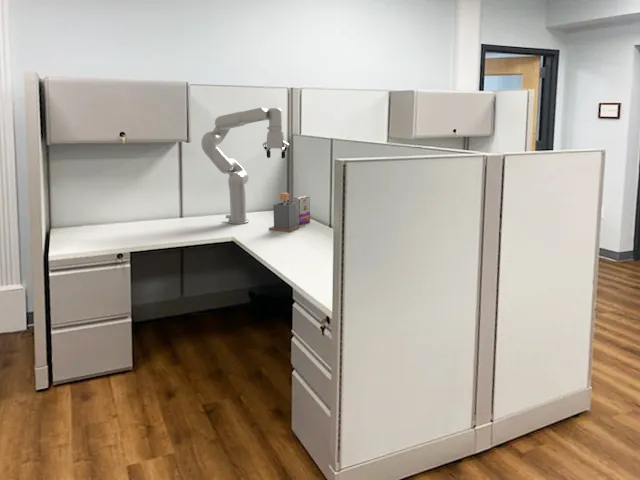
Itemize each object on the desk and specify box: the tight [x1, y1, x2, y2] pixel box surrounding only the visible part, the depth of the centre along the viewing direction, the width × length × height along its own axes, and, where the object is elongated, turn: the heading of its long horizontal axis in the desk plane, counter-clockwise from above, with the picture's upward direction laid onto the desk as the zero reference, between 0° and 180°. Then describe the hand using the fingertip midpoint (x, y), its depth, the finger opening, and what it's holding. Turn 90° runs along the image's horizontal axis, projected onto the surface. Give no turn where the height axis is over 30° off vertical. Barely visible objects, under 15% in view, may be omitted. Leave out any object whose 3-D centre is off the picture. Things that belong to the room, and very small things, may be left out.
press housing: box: [268, 201, 302, 233], centre depth 352 cm, size 14×14×15 cm
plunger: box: [279, 192, 290, 205], centre depth 351 cm, size 7×7×19 cm
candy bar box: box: [292, 195, 311, 226], centre depth 369 cm, size 11×5×16 cm, turn 146°
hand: (275, 157), depth 362 cm, fingers open, 9 cm apart
